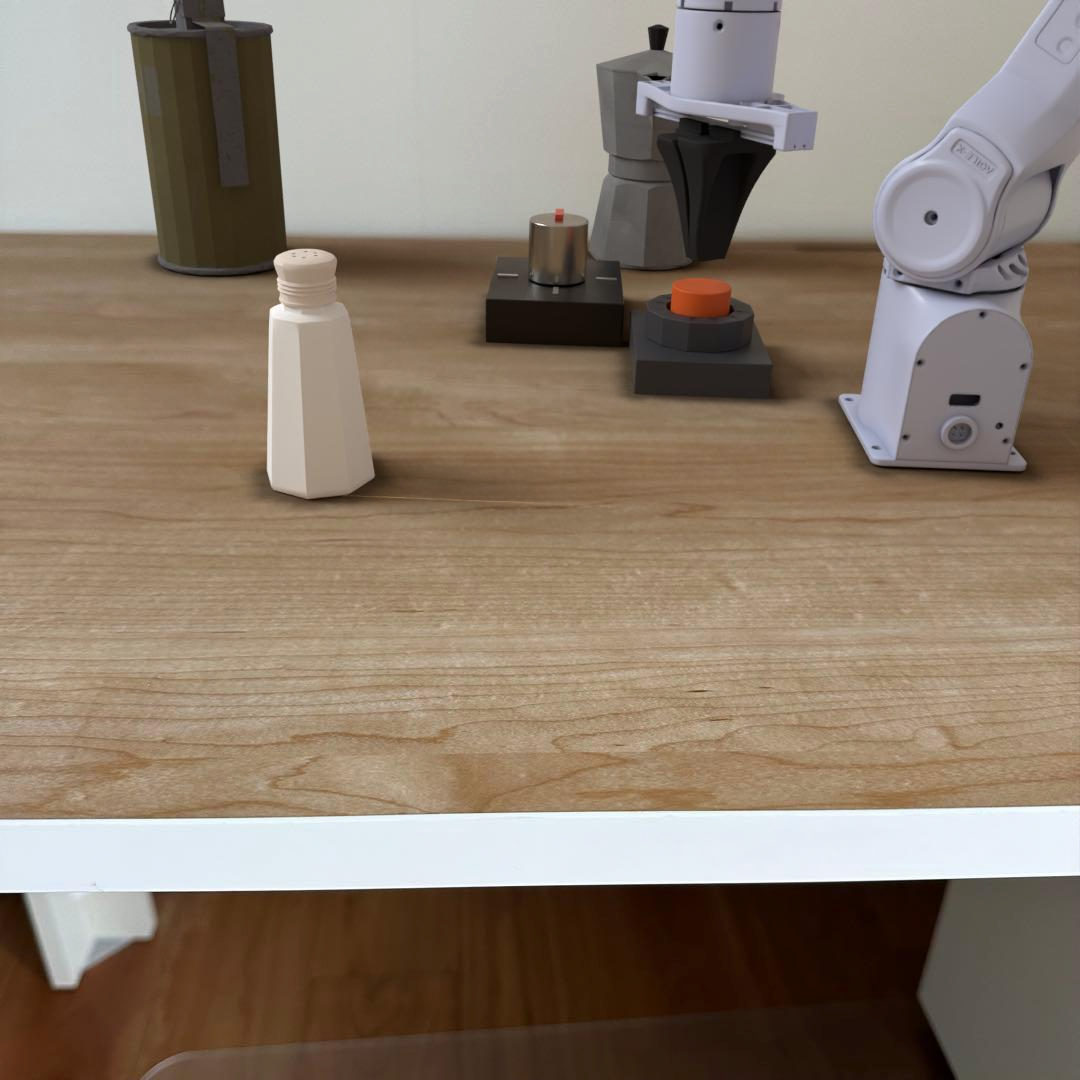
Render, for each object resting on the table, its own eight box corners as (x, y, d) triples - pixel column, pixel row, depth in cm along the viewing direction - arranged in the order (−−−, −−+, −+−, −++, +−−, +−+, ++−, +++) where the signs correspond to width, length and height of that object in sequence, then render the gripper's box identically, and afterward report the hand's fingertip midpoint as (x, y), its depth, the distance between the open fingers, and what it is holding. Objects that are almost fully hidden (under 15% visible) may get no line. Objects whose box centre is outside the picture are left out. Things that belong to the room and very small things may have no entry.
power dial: (585, 286, 77) (588, 222, 75) (526, 284, 77) (528, 220, 75) (585, 271, 80) (588, 209, 78) (529, 269, 80) (530, 207, 78)
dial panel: (621, 348, 75) (624, 301, 74) (485, 343, 75) (485, 296, 74) (617, 300, 85) (620, 258, 83) (497, 296, 85) (497, 254, 83)
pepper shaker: (338, 445, 60) (325, 234, 55) (397, 480, 56) (389, 258, 51) (245, 471, 57) (221, 250, 51) (300, 510, 53) (281, 277, 48)
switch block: (768, 400, 67) (777, 334, 65) (633, 394, 68) (638, 329, 66) (747, 345, 76) (754, 287, 74) (628, 341, 76) (632, 282, 74)
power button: (731, 323, 69) (735, 294, 68) (672, 321, 69) (674, 292, 68) (725, 305, 72) (728, 278, 71) (668, 303, 72) (670, 276, 71)
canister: (146, 250, 94) (109, -19, 84) (270, 239, 98) (247, -18, 89) (175, 283, 86) (138, -12, 76) (309, 269, 90) (289, -11, 81)
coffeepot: (702, 279, 90) (725, 33, 82) (584, 274, 91) (595, 28, 82) (693, 234, 104) (712, 19, 96) (590, 230, 104) (601, 15, 96)
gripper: (876, 18, 58) (837, 280, 65) (711, 1, 69) (691, 226, 76) (766, 19, 55) (737, 294, 62) (612, 1, 66) (600, 235, 73)
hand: (705, 257), depth 68 cm, fingers closed
